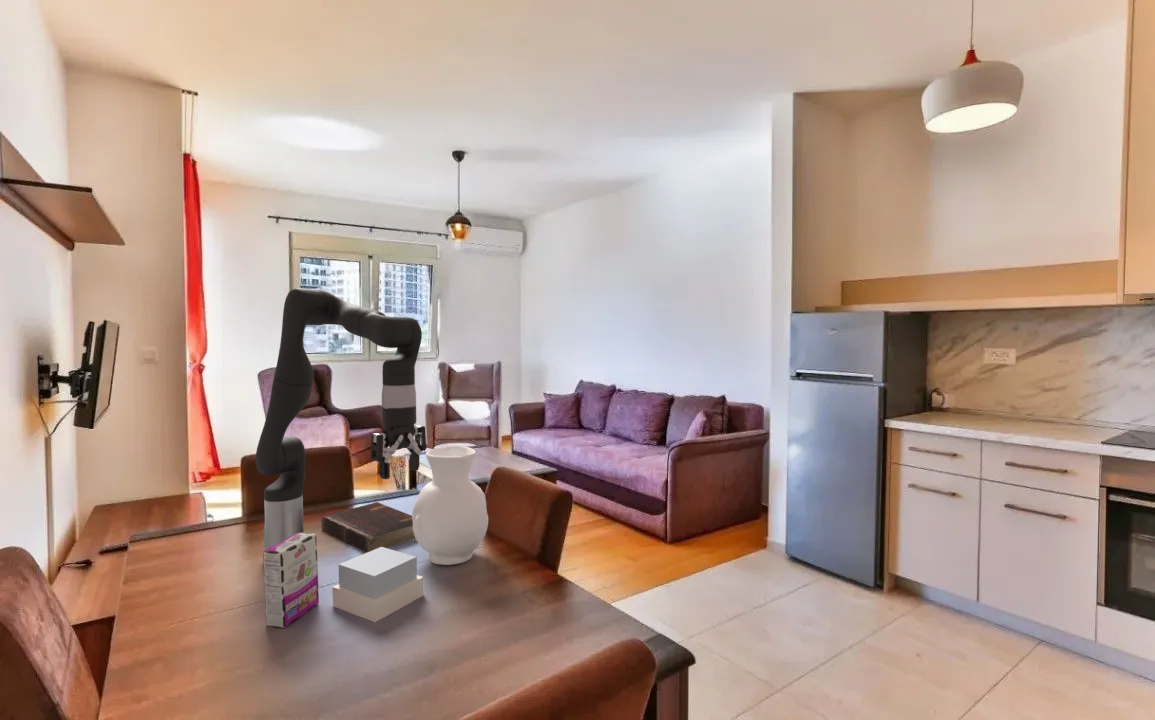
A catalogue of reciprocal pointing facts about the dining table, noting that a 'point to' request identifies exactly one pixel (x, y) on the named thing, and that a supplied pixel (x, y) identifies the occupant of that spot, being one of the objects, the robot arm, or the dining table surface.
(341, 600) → the lower block
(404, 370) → the robot arm
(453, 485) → the vase
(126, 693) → the dining table surface
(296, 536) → the candy bar box
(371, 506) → the hardback book
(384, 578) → the top block
